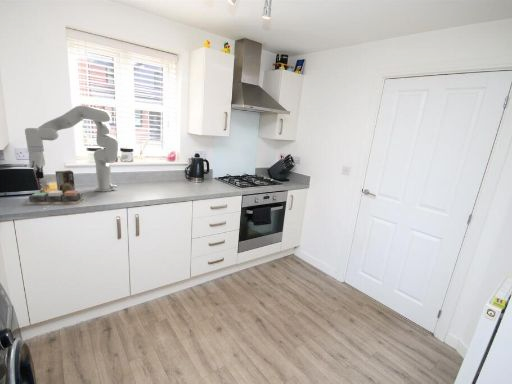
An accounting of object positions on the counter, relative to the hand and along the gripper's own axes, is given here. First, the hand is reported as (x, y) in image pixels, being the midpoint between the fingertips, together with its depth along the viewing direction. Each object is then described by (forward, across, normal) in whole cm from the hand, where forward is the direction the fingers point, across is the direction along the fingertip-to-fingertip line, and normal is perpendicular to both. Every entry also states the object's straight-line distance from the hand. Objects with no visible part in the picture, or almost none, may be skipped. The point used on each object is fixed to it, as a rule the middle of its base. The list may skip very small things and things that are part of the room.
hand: (40, 178), depth 164 cm
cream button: (+12, +3, +8) cm, 14 cm away
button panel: (+15, +3, +8) cm, 17 cm away
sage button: (+13, +3, -1) cm, 13 cm away
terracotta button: (+12, +3, +16) cm, 20 cm away
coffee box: (+16, -17, +8) cm, 25 cm away
